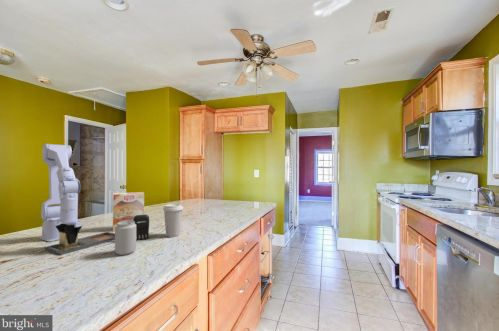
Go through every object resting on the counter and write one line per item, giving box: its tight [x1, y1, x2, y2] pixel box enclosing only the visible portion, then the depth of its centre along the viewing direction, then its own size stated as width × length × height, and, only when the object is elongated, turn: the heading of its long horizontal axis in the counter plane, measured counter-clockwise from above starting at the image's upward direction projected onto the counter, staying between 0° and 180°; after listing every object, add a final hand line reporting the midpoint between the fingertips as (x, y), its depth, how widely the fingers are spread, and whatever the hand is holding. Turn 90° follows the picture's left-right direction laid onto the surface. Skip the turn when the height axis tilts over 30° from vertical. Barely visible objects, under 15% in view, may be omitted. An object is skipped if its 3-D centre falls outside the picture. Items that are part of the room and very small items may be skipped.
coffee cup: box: [162, 203, 184, 238], centre depth 115 cm, size 10×10×15 cm
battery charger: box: [133, 213, 150, 241], centre depth 108 cm, size 7×4×11 cm, turn 119°
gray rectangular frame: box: [44, 231, 115, 256], centre depth 102 cm, size 12×25×1 cm, turn 153°
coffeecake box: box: [112, 191, 145, 232], centre depth 127 cm, size 15×7×20 cm, turn 119°
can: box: [114, 221, 137, 256], centre depth 91 cm, size 8×8×12 cm
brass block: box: [58, 231, 79, 251], centre depth 95 cm, size 4×4×7 cm
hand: (68, 242), depth 95 cm, fingers closed on brass block, 4 cm apart
